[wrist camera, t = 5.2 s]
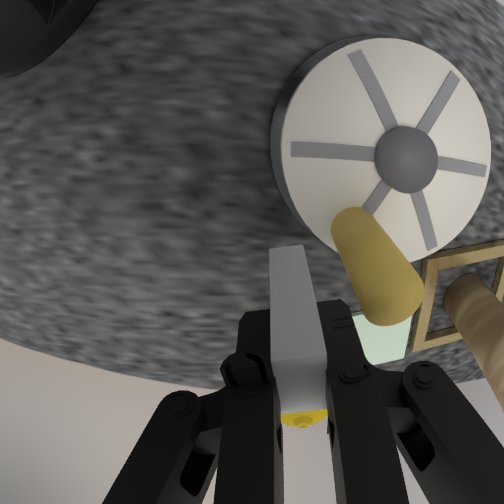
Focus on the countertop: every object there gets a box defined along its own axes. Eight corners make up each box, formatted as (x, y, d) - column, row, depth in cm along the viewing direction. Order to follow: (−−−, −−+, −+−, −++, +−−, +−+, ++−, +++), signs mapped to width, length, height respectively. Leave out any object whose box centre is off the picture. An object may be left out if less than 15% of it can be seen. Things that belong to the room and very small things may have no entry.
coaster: (336, 315, 21) (337, 318, 21) (411, 301, 21) (413, 304, 20) (336, 368, 24) (337, 371, 24) (402, 355, 23) (403, 358, 23)
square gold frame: (423, 254, 19) (428, 259, 18) (510, 237, 18) (516, 242, 17) (409, 345, 23) (411, 352, 22) (488, 323, 22) (491, 328, 21)
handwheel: (355, 1, 11) (418, -56, 4) (502, 137, 13) (588, 172, 7) (236, 185, 16) (216, 254, 9) (401, 283, 18) (449, 368, 12)
